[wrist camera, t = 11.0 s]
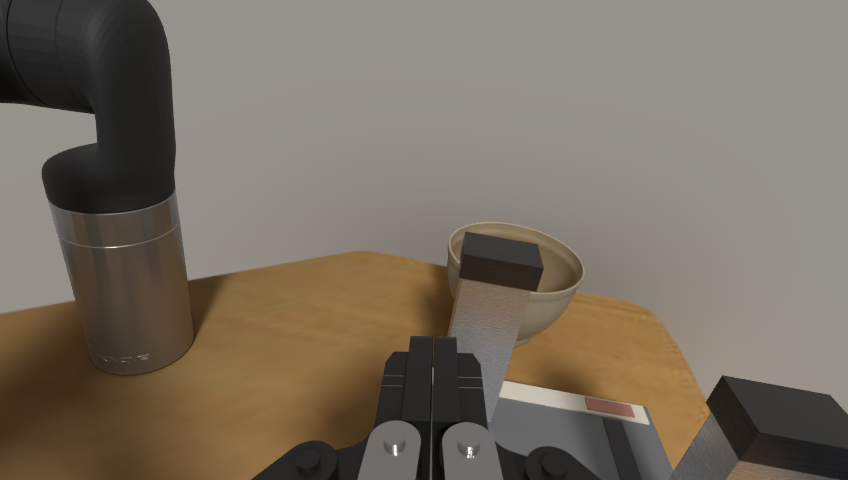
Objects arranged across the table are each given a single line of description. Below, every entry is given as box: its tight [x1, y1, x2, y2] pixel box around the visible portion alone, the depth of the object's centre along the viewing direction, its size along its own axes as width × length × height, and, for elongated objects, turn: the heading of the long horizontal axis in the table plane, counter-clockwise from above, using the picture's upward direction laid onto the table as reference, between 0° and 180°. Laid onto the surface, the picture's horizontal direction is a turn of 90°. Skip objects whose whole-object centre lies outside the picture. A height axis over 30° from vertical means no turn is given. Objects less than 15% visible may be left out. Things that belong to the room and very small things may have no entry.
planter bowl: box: [447, 222, 585, 347], centre depth 56 cm, size 16×16×11 cm
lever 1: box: [447, 231, 544, 422], centre depth 37 cm, size 4×6×16 cm, turn 84°
